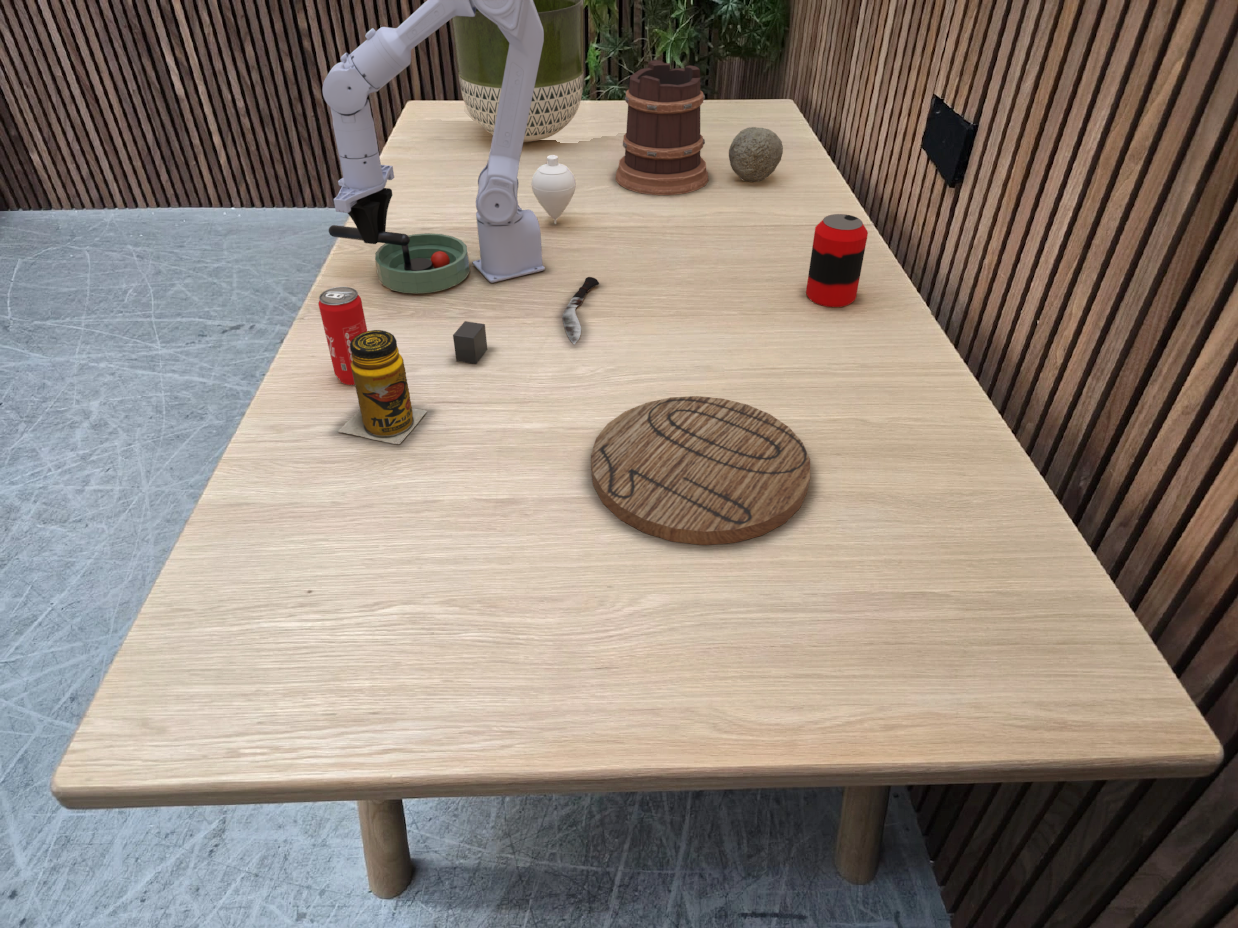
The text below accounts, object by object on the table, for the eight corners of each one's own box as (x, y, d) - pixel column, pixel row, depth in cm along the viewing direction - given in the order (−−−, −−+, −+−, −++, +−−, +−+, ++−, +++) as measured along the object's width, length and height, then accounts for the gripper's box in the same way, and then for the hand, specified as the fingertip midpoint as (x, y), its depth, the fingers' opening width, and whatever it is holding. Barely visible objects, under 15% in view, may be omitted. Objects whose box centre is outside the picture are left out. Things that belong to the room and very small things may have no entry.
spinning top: (526, 229, 156) (521, 160, 148) (545, 213, 161) (541, 146, 154) (566, 235, 153) (563, 167, 146) (583, 219, 159) (582, 152, 152)
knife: (593, 339, 124) (557, 341, 124) (593, 348, 125) (558, 349, 125) (599, 276, 138) (567, 277, 139) (599, 284, 139) (568, 285, 139)
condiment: (399, 445, 106) (383, 359, 99) (337, 432, 108) (317, 347, 101) (428, 412, 112) (414, 328, 104) (368, 400, 114) (350, 317, 106)
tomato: (438, 266, 144) (450, 253, 143) (443, 277, 142) (455, 264, 141) (424, 258, 141) (436, 244, 141) (429, 268, 140) (442, 254, 139)
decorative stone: (729, 189, 170) (734, 136, 164) (724, 173, 177) (728, 121, 171) (783, 188, 171) (789, 136, 164) (775, 172, 177) (781, 121, 171)
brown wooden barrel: (696, 152, 186) (701, 50, 174) (717, 193, 169) (725, 82, 156) (608, 155, 185) (607, 52, 172) (620, 197, 167) (620, 86, 155)
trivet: (750, 577, 89) (752, 564, 88) (548, 492, 99) (547, 479, 98) (841, 449, 106) (843, 436, 105) (659, 387, 116) (659, 375, 115)
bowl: (451, 249, 149) (448, 226, 147) (483, 283, 139) (480, 259, 137) (368, 267, 144) (363, 244, 141) (395, 304, 134) (391, 280, 132)
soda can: (865, 295, 136) (879, 221, 129) (838, 313, 132) (851, 237, 124) (823, 280, 140) (834, 207, 133) (795, 297, 136) (806, 222, 128)
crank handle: (437, 266, 141) (432, 231, 137) (425, 279, 138) (420, 243, 134) (342, 254, 145) (335, 219, 141) (328, 265, 141) (320, 230, 138)
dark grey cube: (487, 349, 124) (485, 323, 121) (476, 364, 121) (473, 338, 118) (467, 346, 124) (464, 320, 122) (456, 361, 121) (452, 335, 119)
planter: (465, 118, 204) (452, -13, 187) (581, 115, 206) (578, -15, 189) (462, 159, 183) (446, 16, 166) (590, 154, 185) (588, 12, 169)
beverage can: (366, 389, 116) (348, 307, 108) (329, 384, 117) (309, 303, 109) (382, 368, 120) (366, 287, 112) (346, 364, 121) (328, 284, 113)
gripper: (358, 134, 136) (373, 218, 145) (307, 166, 126) (327, 256, 134) (400, 138, 135) (413, 223, 143) (352, 171, 124) (369, 261, 132)
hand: (374, 239), depth 139 cm, fingers closed on crank handle, 2 cm apart
